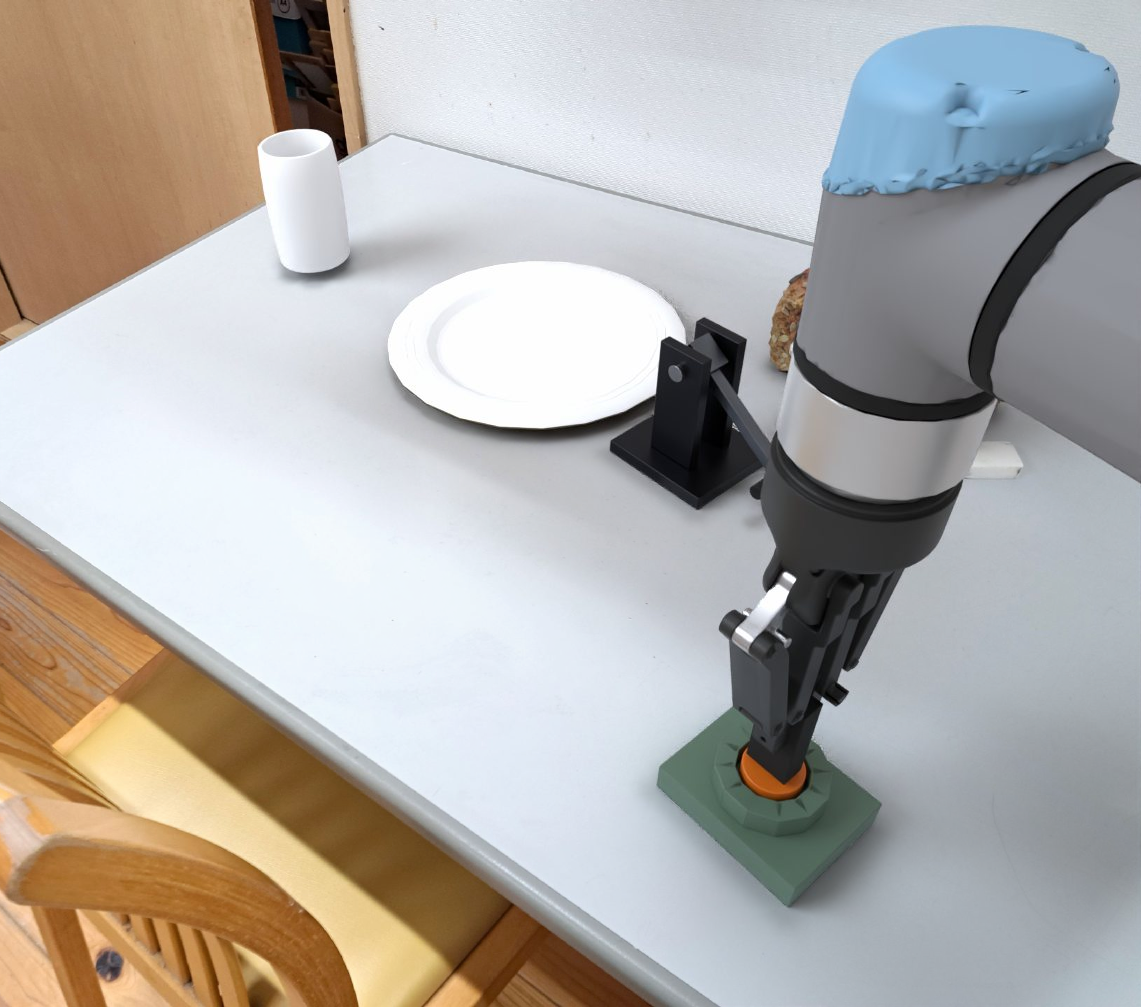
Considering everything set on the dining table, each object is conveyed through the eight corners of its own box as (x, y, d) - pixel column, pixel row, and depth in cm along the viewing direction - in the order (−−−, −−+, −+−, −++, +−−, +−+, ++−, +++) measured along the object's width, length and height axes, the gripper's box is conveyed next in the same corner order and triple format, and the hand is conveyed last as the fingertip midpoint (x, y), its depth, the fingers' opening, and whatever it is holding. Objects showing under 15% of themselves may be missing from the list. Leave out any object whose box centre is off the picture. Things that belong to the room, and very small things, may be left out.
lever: (800, 470, 76) (819, 460, 74) (750, 504, 74) (769, 494, 72) (709, 336, 78) (725, 322, 75) (657, 365, 75) (672, 352, 73)
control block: (873, 822, 57) (890, 787, 54) (787, 908, 53) (800, 874, 51) (741, 714, 63) (750, 677, 60) (656, 785, 59) (661, 749, 57)
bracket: (769, 461, 81) (794, 343, 73) (697, 510, 77) (714, 391, 69) (680, 408, 87) (694, 293, 79) (609, 450, 83) (616, 335, 75)
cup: (268, 262, 111) (241, 141, 101) (332, 240, 114) (313, 120, 104) (299, 292, 106) (274, 167, 96) (366, 268, 109) (349, 145, 99)
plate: (745, 340, 94) (748, 324, 93) (546, 489, 80) (546, 472, 78) (527, 248, 110) (527, 233, 109) (329, 358, 96) (326, 342, 94)
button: (813, 785, 56) (819, 768, 55) (774, 821, 55) (779, 805, 53) (764, 744, 58) (768, 728, 57) (724, 778, 57) (728, 762, 56)
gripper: (883, 347, 44) (792, 662, 60) (688, 472, 38) (645, 782, 55) (1042, 423, 40) (897, 741, 56) (848, 577, 34) (750, 880, 50)
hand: (773, 761), depth 55 cm, fingers closed
